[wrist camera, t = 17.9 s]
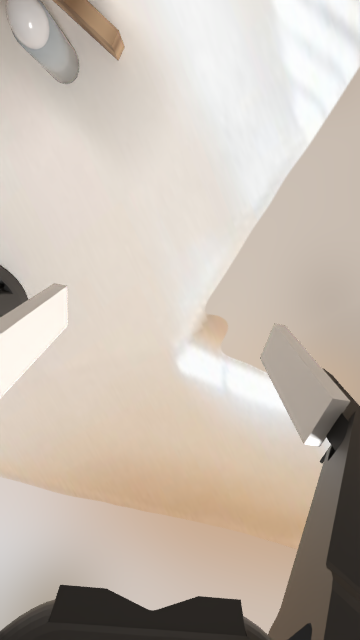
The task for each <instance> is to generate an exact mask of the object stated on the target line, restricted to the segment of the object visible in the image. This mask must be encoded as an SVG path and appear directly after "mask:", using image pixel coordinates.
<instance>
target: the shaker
mask: <svg viewBox="0 0 360 640" xmlns="http://www.w3.org/2000/svg"><path fill="white" fill-rule="evenodd" d="M6 12H7V18H8V21H9V24H10V26H11V29H12V32H13V34H14V36H15V38H16V39H17V41H18V42H19V43H20V45H21V46H22V47H23V48H24V49H25V50H26V51H27V52H28V53H29V54H30V55H31V56H32V57H33V58H34V59H36V60H37V61H38V62H39V63H40V64H41V65H42V66H43V67H44V68H45V69H46V70H47V71H48V72H49V73H50V74H51V75H52V76H53V77H54V78H55V79H56V80H57V81H59V82H60V83H63V84H68V83H71V82H73V81H74V80H75V79H76V77H77V75H78V72H79V60H78V56H77V54H76V52H75V50H74V48H73V47H72V45H71V44H70V42H69V41H68V40H67V38H66V37H65V35H64V34H63V32H62V31H61V29H60V28H59V27H58V25H57V24H56V22H55V21H54V19H53V18H52V16H51V15H50V14H49V12H48V11H47V9H46V8H45V6H44V5H43V4H42V2H41V1H40V0H7V5H6Z"/></svg>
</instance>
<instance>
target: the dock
mask: <svg viewBox="0 0 360 640" xmlns="http://www.w3.org/2000/svg"><path fill="white" fill-rule="evenodd" d="M53 1H54V2H55V3H56V4H57V5H58V6H60V7H61V8H62V9H63V10H64V11H65V12H66V13H67V14H68V15H69V16H70V17H71V18H73V19H74V20H75V21H76V22H77V23H78V24H79V25H80V26H81V27H82V28H83V29H84V30H86V31H87V32H88V33H89V34H90V35H91V36H92V37H93V38H94V39H95V40H96V41H98V42H99V43H100V44H101V45H102V46H103V47H104V48H105V49H106V50H107V51H108V52H109V53H111V54H112V55H113V56H114V57H115V58H116V59H117V60H119V58H120V56H121V54H122V51H123V49H124V44H123V41H122V38H121V36H120V33H119V30H117V29H116V28H115V27H114V26H113V25H112V24H111V23H110V22H109V21H108V20H107V19H106V18H105V17H104V16H103V15H102V14H101V13H100V12H99V11H98V10H97V9H96V8H94V7H93V6H92V5H91V4H90V3H89V2H88V1H87V0H53Z"/></svg>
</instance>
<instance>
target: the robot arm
mask: <svg viewBox="0 0 360 640" xmlns="http://www.w3.org/2000/svg"><path fill="white" fill-rule="evenodd" d="M67 326H68V306H67V286H65V285H60V284H53V285H51V286H50V287H48V288H46V289H45V290H43V291H42V292H40V293H38V294H37V295H35V296H34V297H32V298H31V299H29V300H28V298H27V295H26V293H25V291H24V289H23V288H22V286H21V285H20V283H19V282H18V281H17V280H16V279H15V278H14V277H13V276H12V275H11V274H10V273H9V272H8V271H6V270H5V269H4V268H2V267H1V266H0V398H1V397H2V396H3V395H4V394H5V393H6V392H7V391H8V390H9V389H10V388H11V386H12V385H13V384H14V383H15V382H16V381H17V380H18V379H19V378H20V377H21V376H22V375H23V374H24V372H25V371H26V370H27V369H28V368H29V367H30V366H31V365H32V364H33V363H34V362H35V361H36V359H37V358H38V357H39V356H40V355H41V354H42V353H43V352H44V351H45V350H46V349H47V348H48V347H49V345H50V344H51V343H52V342H53V341H54V340H55V339H56V338H57V337H58V336H59V335H60V334H61V333H62V331H63V330H64V329H65V328H66V327H67ZM260 359H261V361H262V363H263V365H264V367H265V369H266V371H267V373H268V375H269V377H270V379H271V381H272V383H273V385H274V387H275V389H276V391H277V393H278V394H279V396H280V398H281V400H282V402H283V404H284V406H285V408H286V410H287V412H288V414H289V416H290V418H291V420H292V422H293V424H294V426H295V428H296V430H297V432H298V434H299V436H300V438H301V440H302V441H303V443H304V444H305V445H313V446H321V444H322V443H323V441H324V440H325V438H326V437H327V439H328V440H329V442H330V443H331V446H330V447H329V449H328V450H327V452H326V453H325V454H324V456H323V457H322V459H321V460H320V462H321V463H323V462H324V463H323V467H322V470H321V473H320V477H319V480H318V483H317V487H316V490H315V494H314V497H313V500H312V504H311V507H310V511H309V514H308V517H307V521H306V524H305V527H304V531H303V534H302V538H301V541H300V544H299V548H298V551H297V555H296V558H295V561H294V565H293V568H292V571H291V575H290V578H289V582H288V585H287V588H286V592H285V595H284V599H283V602H282V605H281V608H280V611H279V613H278V616H277V618H276V620H275V621H274V623H273V625H272V627H271V629H270V631H269V634H268V635H267V634H266V633H265V632H264V631H263V630H262V629H261V628H259V627H258V626H257V625H256V624H254V623H253V622H251V621H250V620H248V619H247V618H245V617H244V616H243V614H242V607H241V600H236V599H224V598H223V599H222V598H212V597H200V596H198V597H195V598H192V599H189V600H186V601H183V602H180V603H177V604H174V605H171V606H167V607H165V608H162V609H159V610H154V611H151V610H148V609H146V608H144V607H142V606H140V605H138V604H136V603H134V602H132V601H129V600H128V599H126V598H124V597H122V596H120V595H118V594H116V593H114V592H112V591H110V590H108V589H104V588H92V587H91V588H90V587H80V586H68V585H60V587H59V590H58V593H57V596H56V599H55V600H52V601H49V602H46V603H44V604H41V605H39V606H37V607H35V608H33V609H31V610H30V611H28V612H26V613H24V614H23V615H21V616H19V617H18V618H17V619H15V620H14V621H13V622H12V623H10V624H9V625H7V626H6V627H5V628H4V629H2V630H1V631H0V640H360V406H359V405H358V404H357V403H356V402H355V401H354V399H353V398H352V397H351V396H350V395H349V394H348V392H347V391H346V390H344V388H343V387H342V386H341V385H340V384H339V383H338V381H337V380H336V379H335V378H334V377H333V376H332V375H331V374H330V373H329V372H327V371H326V370H325V369H323V368H321V367H320V365H319V364H318V363H317V362H316V361H315V360H314V358H313V357H312V356H311V355H310V354H309V353H308V351H307V350H306V349H305V348H304V347H303V345H302V344H301V343H300V342H299V341H298V340H297V338H296V337H295V336H294V335H293V334H292V333H291V331H290V330H289V329H288V328H287V327H286V326H285V325H280V324H274V325H273V328H272V330H271V333H270V335H269V337H268V340H267V342H266V345H265V347H264V350H263V352H262V354H261V357H260Z"/></svg>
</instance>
